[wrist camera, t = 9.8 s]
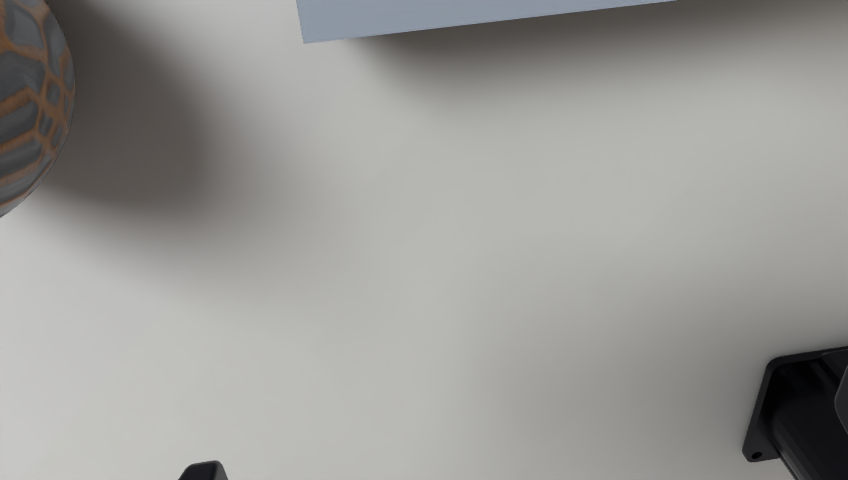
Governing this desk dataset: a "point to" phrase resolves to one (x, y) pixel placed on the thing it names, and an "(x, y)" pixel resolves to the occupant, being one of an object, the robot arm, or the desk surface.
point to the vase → (31, 97)
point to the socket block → (426, 14)
